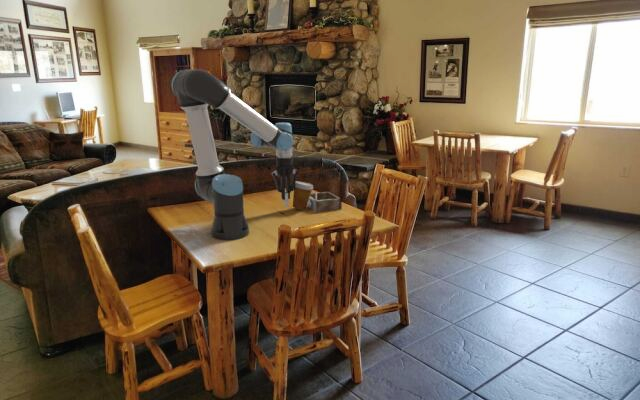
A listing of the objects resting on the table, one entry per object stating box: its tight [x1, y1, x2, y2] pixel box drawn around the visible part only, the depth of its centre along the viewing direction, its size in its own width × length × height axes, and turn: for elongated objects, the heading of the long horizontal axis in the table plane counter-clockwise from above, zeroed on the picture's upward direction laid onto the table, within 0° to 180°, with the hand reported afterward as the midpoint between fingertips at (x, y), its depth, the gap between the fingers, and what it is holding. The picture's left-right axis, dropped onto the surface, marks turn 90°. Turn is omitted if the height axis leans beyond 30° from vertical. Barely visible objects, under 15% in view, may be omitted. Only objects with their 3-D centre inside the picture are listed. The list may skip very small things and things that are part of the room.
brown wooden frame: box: [310, 191, 343, 213], centre depth 220 cm, size 12×16×5 cm
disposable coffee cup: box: [292, 180, 314, 210], centre depth 215 cm, size 10×10×12 cm
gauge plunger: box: [306, 191, 318, 212], centre depth 218 cm, size 6×11×9 cm, turn 22°
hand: (286, 205), depth 214 cm, fingers closed
